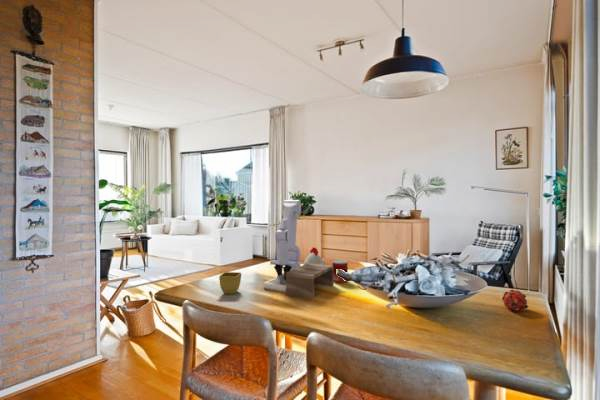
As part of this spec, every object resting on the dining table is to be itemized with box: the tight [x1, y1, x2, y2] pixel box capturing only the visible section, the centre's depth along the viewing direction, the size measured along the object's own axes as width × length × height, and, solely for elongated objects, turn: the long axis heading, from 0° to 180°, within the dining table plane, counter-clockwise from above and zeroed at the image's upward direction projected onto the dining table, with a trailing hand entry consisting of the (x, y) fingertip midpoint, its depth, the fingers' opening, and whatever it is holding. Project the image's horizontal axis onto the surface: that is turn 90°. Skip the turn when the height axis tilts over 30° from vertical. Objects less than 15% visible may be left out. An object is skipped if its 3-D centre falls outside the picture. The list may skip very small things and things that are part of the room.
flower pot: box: [218, 271, 242, 295], centre depth 165 cm, size 9×9×9 cm
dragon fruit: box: [501, 289, 529, 312], centre depth 137 cm, size 8×8×12 cm
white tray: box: [263, 272, 286, 293], centre depth 175 cm, size 16×13×6 cm
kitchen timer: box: [302, 247, 326, 266], centre depth 204 cm, size 14×14×15 cm
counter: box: [285, 263, 335, 300], centre depth 168 cm, size 24×14×10 cm, turn 151°
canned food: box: [332, 259, 349, 284], centre depth 183 cm, size 8×8×11 cm
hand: (283, 279), depth 175 cm, fingers closed on white tray, 3 cm apart
